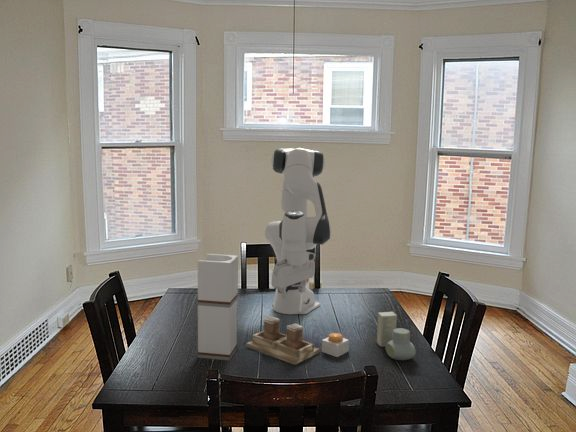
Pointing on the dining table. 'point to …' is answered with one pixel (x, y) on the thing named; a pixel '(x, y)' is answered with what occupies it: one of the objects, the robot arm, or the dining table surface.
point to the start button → (335, 337)
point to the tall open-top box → (217, 306)
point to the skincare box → (385, 327)
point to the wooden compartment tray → (279, 344)
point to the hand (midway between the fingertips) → (293, 294)
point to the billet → (294, 336)
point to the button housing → (335, 347)
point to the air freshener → (400, 345)
